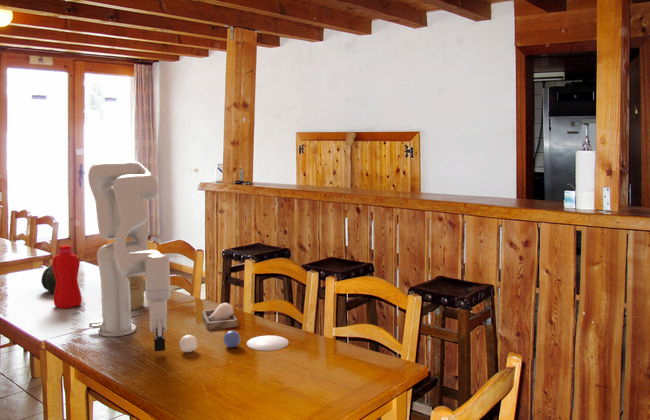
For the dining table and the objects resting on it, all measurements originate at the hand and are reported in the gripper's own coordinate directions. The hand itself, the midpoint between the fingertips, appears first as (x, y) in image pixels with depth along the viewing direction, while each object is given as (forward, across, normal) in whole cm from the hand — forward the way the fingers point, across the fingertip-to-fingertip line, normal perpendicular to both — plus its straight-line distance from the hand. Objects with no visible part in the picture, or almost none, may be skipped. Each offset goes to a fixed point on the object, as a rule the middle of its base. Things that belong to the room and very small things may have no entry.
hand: (159, 350), depth 187 cm
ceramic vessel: (+2, -58, -11) cm, 59 cm away
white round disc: (+2, 0, +35) cm, 35 cm away
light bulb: (+2, -28, +23) cm, 36 cm away
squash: (+2, -93, -39) cm, 101 cm away
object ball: (-1, 0, +23) cm, 23 cm away
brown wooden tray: (+2, -28, +23) cm, 36 cm away
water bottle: (+2, -68, -34) cm, 76 cm away
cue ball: (-1, 0, +9) cm, 9 cm away
